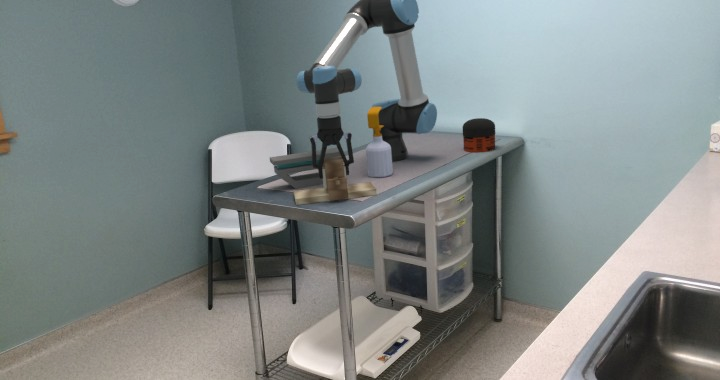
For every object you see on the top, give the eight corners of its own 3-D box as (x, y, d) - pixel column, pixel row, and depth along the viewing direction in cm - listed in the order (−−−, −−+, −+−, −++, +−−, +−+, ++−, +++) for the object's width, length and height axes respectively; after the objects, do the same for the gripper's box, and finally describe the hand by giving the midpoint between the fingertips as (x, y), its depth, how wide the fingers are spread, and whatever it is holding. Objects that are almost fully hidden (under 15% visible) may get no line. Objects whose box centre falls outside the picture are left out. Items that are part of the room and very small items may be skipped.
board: (371, 187, 210) (370, 181, 209) (376, 194, 200) (376, 189, 199) (294, 197, 206) (293, 191, 205) (296, 205, 196) (295, 199, 196)
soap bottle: (396, 171, 228) (391, 105, 221) (387, 178, 220) (381, 109, 213) (374, 171, 232) (368, 105, 225) (364, 177, 224) (358, 109, 217)
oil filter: (488, 153, 245) (500, 146, 255) (487, 122, 242) (499, 116, 252) (458, 152, 252) (470, 145, 262) (457, 122, 249) (469, 116, 259)
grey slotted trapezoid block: (277, 192, 214) (273, 161, 211) (273, 187, 221) (269, 157, 218) (346, 181, 221) (343, 151, 218) (340, 176, 228) (337, 147, 225)
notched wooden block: (343, 190, 206) (340, 156, 203) (348, 198, 196) (345, 162, 193) (325, 192, 205) (322, 158, 202) (330, 201, 195) (326, 165, 192)
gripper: (356, 111, 201) (361, 180, 207) (297, 117, 198) (305, 187, 204) (360, 114, 194) (365, 185, 200) (299, 120, 191) (307, 192, 197)
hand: (335, 186), depth 202 cm, fingers closed on notched wooden block, 6 cm apart
